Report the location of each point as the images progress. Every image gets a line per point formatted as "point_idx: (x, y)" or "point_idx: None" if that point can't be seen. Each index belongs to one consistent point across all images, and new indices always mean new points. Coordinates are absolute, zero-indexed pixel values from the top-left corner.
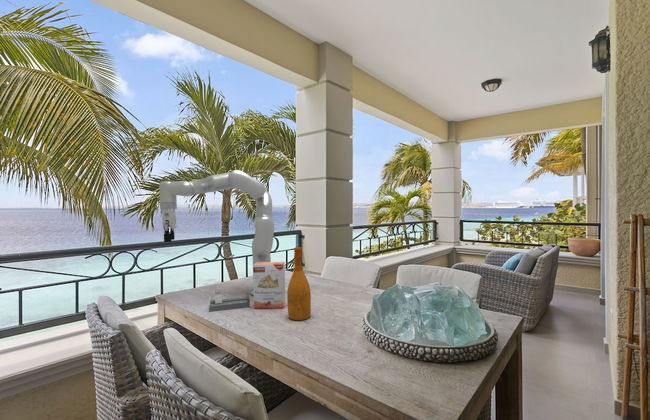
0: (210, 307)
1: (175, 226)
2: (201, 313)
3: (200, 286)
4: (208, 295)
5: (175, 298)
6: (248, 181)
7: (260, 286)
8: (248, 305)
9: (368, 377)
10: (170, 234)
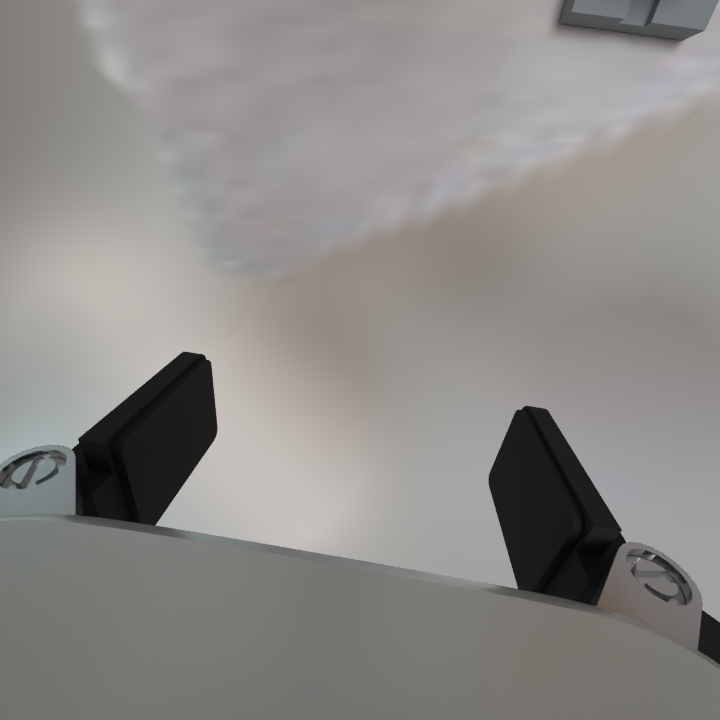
0: (704, 23)
1: (241, 625)
2: (670, 92)
3: (113, 72)
4: (343, 24)
5: (321, 223)
6: None
7: None
8: None
9: None
10: (600, 518)
